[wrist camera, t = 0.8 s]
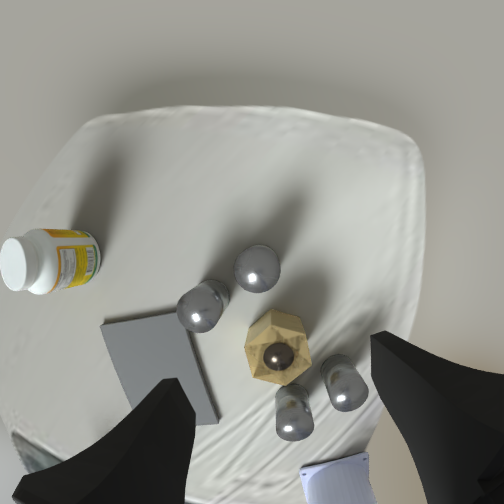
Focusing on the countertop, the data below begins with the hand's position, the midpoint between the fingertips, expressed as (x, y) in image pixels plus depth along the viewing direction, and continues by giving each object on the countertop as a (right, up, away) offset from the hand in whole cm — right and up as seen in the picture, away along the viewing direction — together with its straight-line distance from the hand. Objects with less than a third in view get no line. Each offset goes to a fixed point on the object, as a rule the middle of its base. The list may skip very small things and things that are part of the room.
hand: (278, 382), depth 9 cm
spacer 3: (+3, -9, +14) cm, 17 cm away
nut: (+1, -3, +14) cm, 14 cm away
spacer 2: (0, +4, +14) cm, 14 cm away
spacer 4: (+7, -6, +14) cm, 17 cm away
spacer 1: (-4, +1, +14) cm, 15 cm away
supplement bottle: (-18, +4, +15) cm, 24 cm away
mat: (-10, -7, +15) cm, 19 cm away
